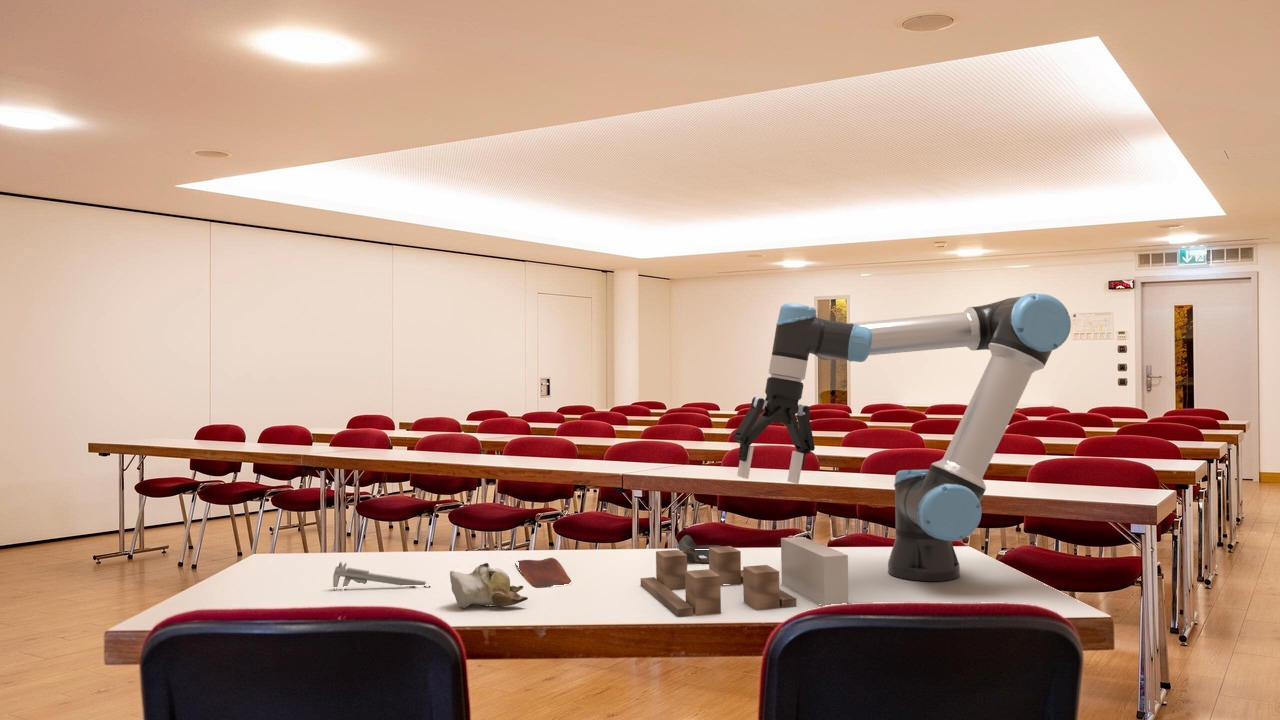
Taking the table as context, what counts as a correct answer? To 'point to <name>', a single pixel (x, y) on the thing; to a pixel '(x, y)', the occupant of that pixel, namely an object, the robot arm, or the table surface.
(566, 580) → the wooden tablet
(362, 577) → the caliper
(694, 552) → the pottery fragment
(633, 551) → the table surface
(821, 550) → the light grey rectangular block
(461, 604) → the ceramic sculpture
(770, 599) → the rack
